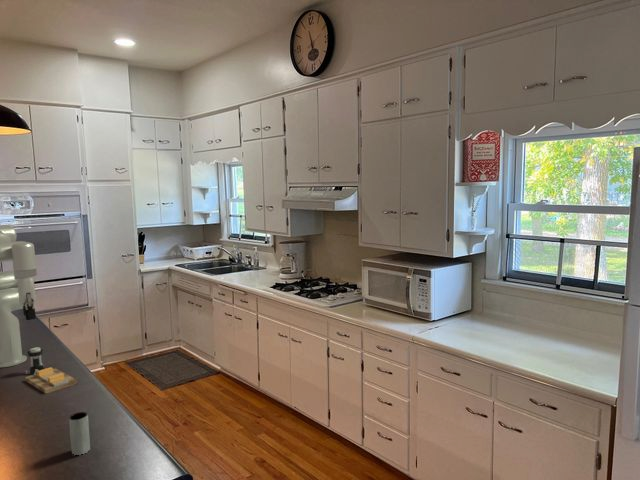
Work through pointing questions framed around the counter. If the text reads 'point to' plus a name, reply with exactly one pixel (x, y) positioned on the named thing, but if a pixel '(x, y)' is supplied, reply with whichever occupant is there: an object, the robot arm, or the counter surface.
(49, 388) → the din panel
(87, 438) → the planter
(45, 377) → the din rail
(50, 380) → the end stops
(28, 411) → the counter surface
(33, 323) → the counter surface
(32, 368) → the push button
